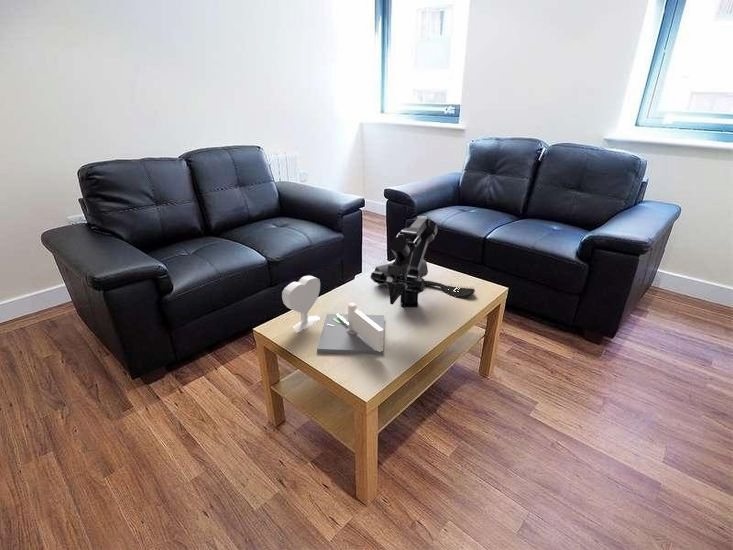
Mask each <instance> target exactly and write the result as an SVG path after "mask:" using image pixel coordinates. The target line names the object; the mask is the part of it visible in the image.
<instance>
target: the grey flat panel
mask: <svg viewBox="0 0 733 550" xmlns="http://www.w3.org/2000/svg"><path fill="white" fill-rule="evenodd" d="M337 314H338V315H340V316H341V317H342V318H343V319H344V320H345V321H347V322H348V313H347V314H346V313H345V314H344V313H326V316H325V320H324V323H323V326H322V330H321V334H320V336H319V340H318V343H317V348H316V352H317V353H320V354H321V353H322V354H325V353H326V354H352V355H353V354H354V355H355V354H356V355H357V354H359V355H384V350H383V351H381V352H379V351H377V350H376V349H375V348H374V347H373V346H372V345H370V344H369V343H368V342H367V341H366V340H365V339H363V338H362V337H361V336H360V335H359V334H358V333H357V332H355V331H354V332H351V331H349V326H347V325H346V324H345V323H344V322H343V321H342V320H340V319H339V318H338V317H337V316H336V315H337ZM364 315H365V316H367V317H368V318H369V319H371V320H372V321H373V322H374V323H376V324H377V325H378V326H380V327H381V328H382V329H383V330H384V331H385V315H384V314H364ZM384 340H385V338H384V336H383V347H384V346H385V345H384V343H385V342H384Z"/></svg>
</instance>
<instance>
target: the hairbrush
mask: <svg viewBox="0 0 733 550" xmlns="http://www.w3.org/2000/svg"><path fill="white" fill-rule="evenodd" d="M422 281H423V283H424V285H425V286H434V287H437V288H438V287H439V288H440V289H441V290H442V291H443V292H444V291H445V292H444V293H445V294H447V293H448V294H450V295H449V296H451V295H453V296H452V297H454V296H456V297H455V298H458V297H461V299H462V297H463V298H467V297H469V296H472V295H474V293H475V292H476V290H475V288H473V287H472V286H470V287H468V286H466V287H465V285H464V286H463V285H460V287H459V286H455V285H454V284H452V283H451V284H443V283H440V282H435V281H432V280H422ZM456 287H457V288H458V287H459V288H460V289H459V288H458V289H459V290H458V289H456V290H455V291H456V292H453V290H454V289H455V288H456ZM448 289H449V290H448ZM457 291H459V292H457ZM448 294H447V295H448Z"/></svg>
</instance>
